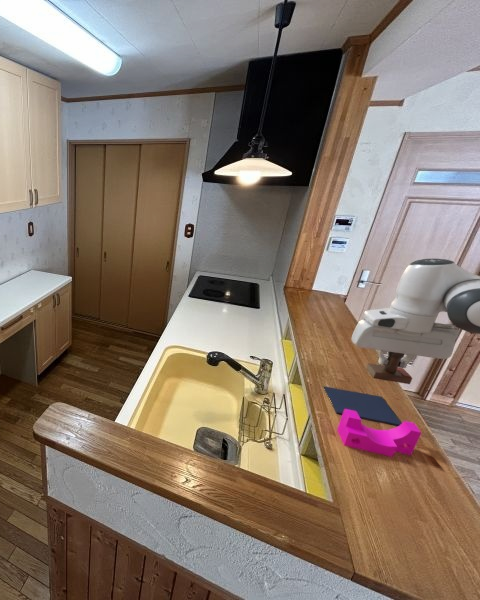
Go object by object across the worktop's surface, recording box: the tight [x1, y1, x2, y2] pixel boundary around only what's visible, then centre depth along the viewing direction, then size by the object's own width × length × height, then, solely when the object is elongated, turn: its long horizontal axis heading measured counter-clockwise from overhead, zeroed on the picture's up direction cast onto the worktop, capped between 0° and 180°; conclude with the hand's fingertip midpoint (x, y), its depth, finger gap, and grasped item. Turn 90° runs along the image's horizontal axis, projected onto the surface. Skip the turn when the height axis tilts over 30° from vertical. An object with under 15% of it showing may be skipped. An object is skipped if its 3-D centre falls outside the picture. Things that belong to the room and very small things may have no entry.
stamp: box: [365, 352, 413, 385], centre depth 89 cm, size 8×5×9 cm, turn 69°
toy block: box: [336, 409, 422, 458], centre depth 86 cm, size 15×6×8 cm, turn 67°
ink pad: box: [323, 385, 403, 427], centre depth 102 cm, size 16×14×1 cm
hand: (391, 365), depth 89 cm, fingers closed on stamp, 2 cm apart
